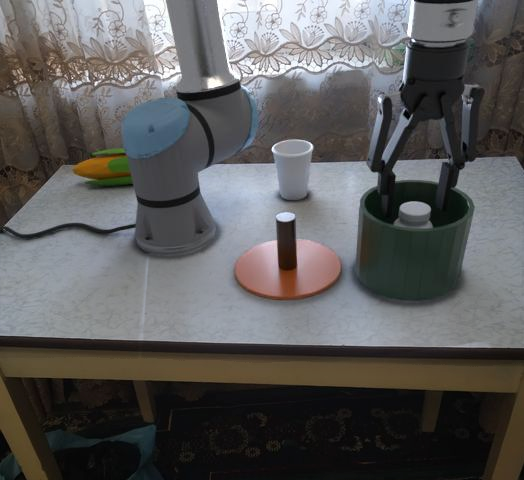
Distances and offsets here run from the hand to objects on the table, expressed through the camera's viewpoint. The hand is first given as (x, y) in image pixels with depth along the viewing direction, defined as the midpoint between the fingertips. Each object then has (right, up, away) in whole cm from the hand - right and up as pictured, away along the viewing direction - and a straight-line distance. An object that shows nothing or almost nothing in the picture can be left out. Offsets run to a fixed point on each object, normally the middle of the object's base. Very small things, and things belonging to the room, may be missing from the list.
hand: (413, 210), depth 79 cm
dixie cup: (-16, +12, +32) cm, 38 cm away
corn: (-56, +18, +43) cm, 73 cm away
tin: (+1, -9, +7) cm, 11 cm away
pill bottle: (+1, -8, +7) cm, 11 cm away
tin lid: (-19, -7, +10) cm, 22 cm away
